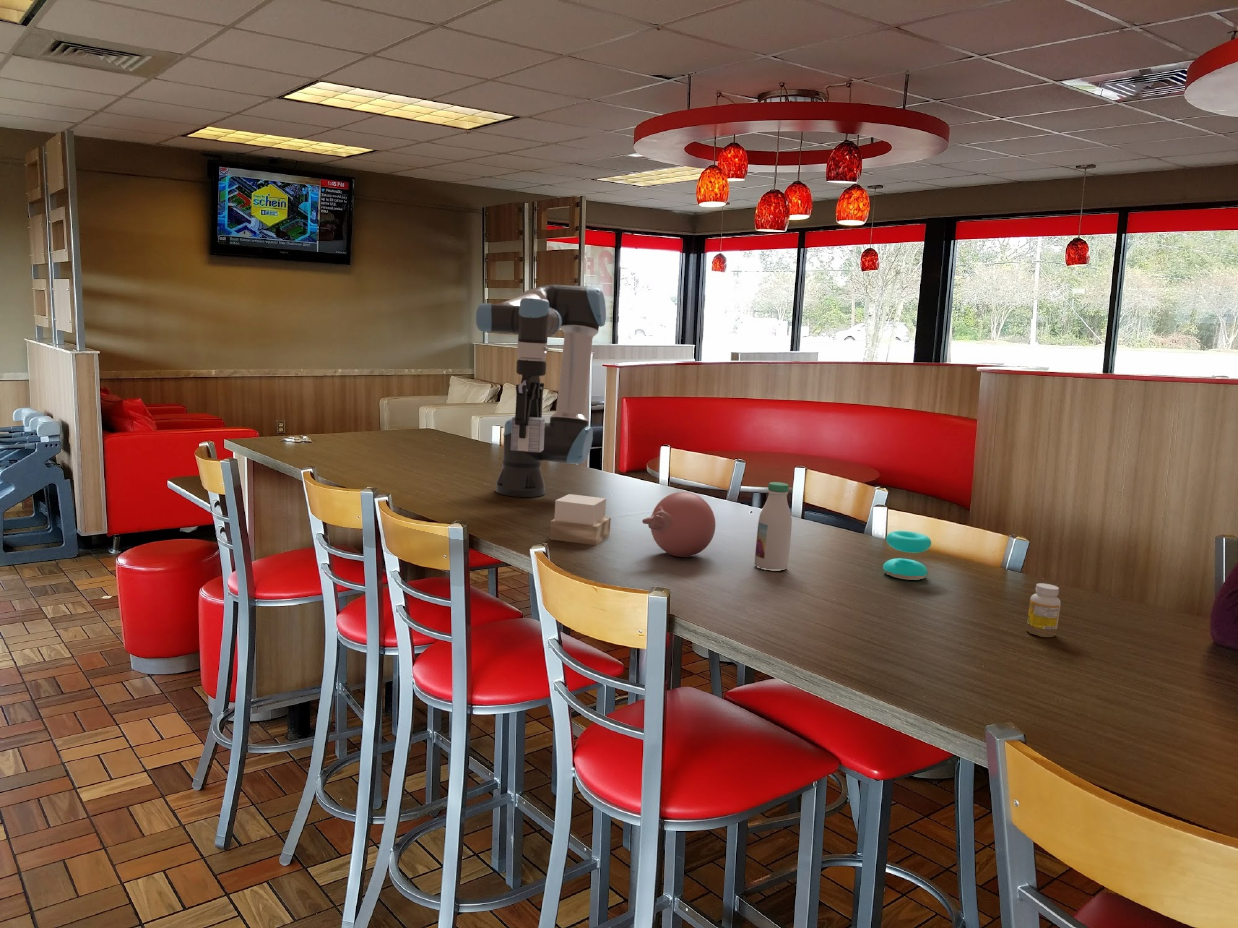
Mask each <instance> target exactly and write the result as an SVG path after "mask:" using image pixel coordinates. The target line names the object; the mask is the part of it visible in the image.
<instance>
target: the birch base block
mask: <svg viewBox="0 0 1238 928" xmlns="http://www.w3.org/2000/svg"><path fill="white" fill-rule="evenodd" d="M611 521H612V519H611V517H609V516H605V518H604V519H602V520H601V521H599V522H597V523H596V524H594V525H586V524H578V523H571V522H563V521H556V520H554V518H553V519H552V520H550V522H549V523H550V526H549V540H553V541H554V540H555V541H563V542H569V543H576V544H584V545H593V546H597V545H598V544H599V543H601V542H602V541H604V540H605V539H606V538H608V537H609V536H610V533H611Z"/></svg>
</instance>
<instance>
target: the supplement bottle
mask: <svg viewBox="0 0 1238 928" xmlns="http://www.w3.org/2000/svg"><path fill="white" fill-rule="evenodd" d="M1059 592H1060V588H1059V587H1058V586H1057V585H1053V584H1049V583H1043V582H1040V583H1036V584H1035V593H1034V594H1032V595H1031V596H1030V599H1029V606H1028V614H1027V615H1028V616H1027V621H1026V624H1027V623H1028V624H1030V625H1031V626H1034V627H1036V628H1041V629H1049V630H1051V629H1053V630H1054V629H1057V630H1058V623H1059V617H1060V611H1061V600H1060V599H1059V597H1057V596H1058V595H1059Z"/></svg>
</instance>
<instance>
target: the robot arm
mask: <svg viewBox="0 0 1238 928" xmlns="http://www.w3.org/2000/svg"><path fill="white" fill-rule="evenodd" d="M606 308H607V306H606V301H605V296H604V292H603V291H602V289H601V288H599V287H595V286H593V287H592V286H588V285H586V286H585V285H570V284H569V285H564V284H545V285H542V286H541V285H540V286H537V287H534V288H530V289H528V290H525V291H524V292H522V293H521V295H519V296H518V297H515V298H511V299H508V300H506V301H503V302H499V303H491V302H489V303H480V304H479V305H478V306H477V308H476V312H475V323H476V324H475V325H476V328H477V329H478V330H479V331H481V332H484V333H485V332H486V333H489V334H490V333H498V334H500V333H501V334H515V335H517V348H516V357H517V358H518V359H517V360H516V368H515V369H516V374H517V375H521V380H520V384H516V385H515V393H516V394H515V395H516V396H515V413H514V417H515V425H519V430H518V450H519V451H516V450H511V430H512V418H511V419H508V420H506V421H505V423H504V432H503V434H502V435H503V446H502V447H503V448H502V451H503V452H502V466H501V470H500V473H499V475H498V477H497V478H498V479H497V481H496V483H495V492H496V493H497V494H499V495H504V496H507V497H508V496H509V497H516V498H536V497H540V496H544V495H545V494H546V484H545V481H544V476H543V472H542V468H541V466H542V462H550V463H558V464H568V465H571V464H573V465H574V464H575V465H581V464H583V463H584V462H585V461H586V460H587V458H588V456H589V454H590V451H591V448H592V444H593V440H594V437H593V435H594V430H593V427H592V426H590V425H589V420H588V418H587V417H586V416H585V412H586V411H585V410H586V399H587V391H588V384H589V383H588V382H589V374H590V365H591V358H592V357H591V355H592V347H593V338H594V337H595V336H597V334H599V330H600V328H602V327H604V326H605V325H606V322H607V321H606V320H607V309H606ZM560 330H561V331H562V333H564V338H563V346H562V347H563V348H562V355H561V356H562V357H561V366H560V373H559V380H558V381H559V383H558V390H557V391H558V392H557V399H556V408H555V409H556V410H555V412H554V413H553V414H552V415H550V417H549V422H545V429H544V450H543V451H541V452H528V448H529V429H530V426H528V422H529V417H537V418H543V417H542V416H543V400H544V399H543V397H544V389H545V383H544V382H541V379H540V377H542V376H543V377H544V376H545V375H546V374H547V362H546V361H545V360H546V359H547V352H548V351H549V347H548V337H552V336H553V335H557V333H558V332H559V331H560Z"/></svg>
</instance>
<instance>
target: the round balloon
mask: <svg viewBox="0 0 1238 928" xmlns="http://www.w3.org/2000/svg"><path fill="white" fill-rule="evenodd" d="M642 524H645V525H648V526H647V527H648V528H649V529H650V531H651V535H652V538H653V540H654V542H655V543H656V544H657V545H658V547H659V548H660V549H661V550H662V551H664V552H666V554H669V555H671V556H674V557H678V558H687V557H693V556H696V555H697V554H699V553H701V552H702V551H704V550H705V549H706V548H707V547H708V546H709V545H710V543H711V542H712V540H713V537H714V535H715V533H716V518H715V514H714V512H713V510H712V507H711V506H710V505H709V503H708V502H707V501H706V500H705V499H704V498H703V497H701V496H699V495H697V494H695V493H692V492H687V491H681V492H679V491H677V492H673V493H671V494H668V495H667V496H665V497H663V498H662V499H660V501H659V502H657V504H656V506H655V507H654V508H653V511H652V514H651V515H650V516H649V517H646V518H643V519H642Z"/></svg>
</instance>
